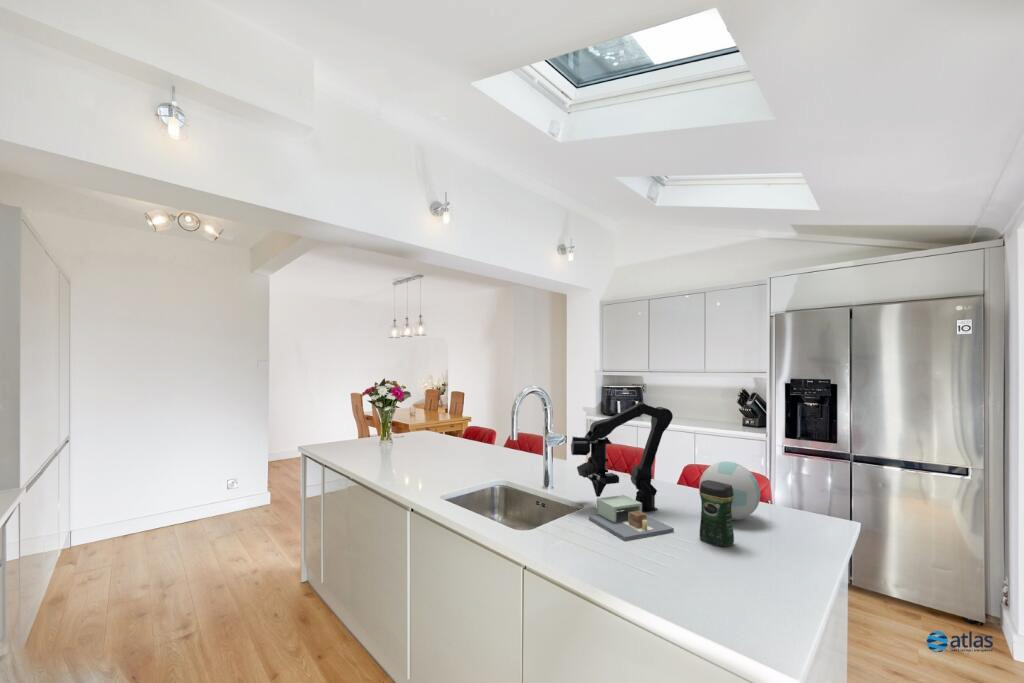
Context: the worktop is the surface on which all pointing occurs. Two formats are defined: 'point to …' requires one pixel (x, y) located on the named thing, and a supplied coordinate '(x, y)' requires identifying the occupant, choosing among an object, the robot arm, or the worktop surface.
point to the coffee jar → (716, 513)
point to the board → (628, 531)
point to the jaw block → (637, 518)
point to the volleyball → (736, 486)
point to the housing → (616, 506)
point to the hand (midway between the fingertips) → (598, 496)
